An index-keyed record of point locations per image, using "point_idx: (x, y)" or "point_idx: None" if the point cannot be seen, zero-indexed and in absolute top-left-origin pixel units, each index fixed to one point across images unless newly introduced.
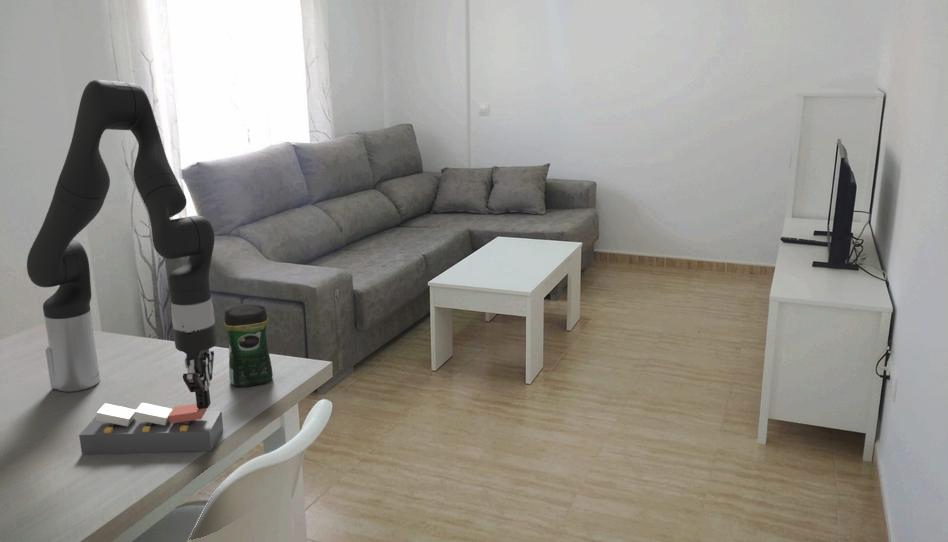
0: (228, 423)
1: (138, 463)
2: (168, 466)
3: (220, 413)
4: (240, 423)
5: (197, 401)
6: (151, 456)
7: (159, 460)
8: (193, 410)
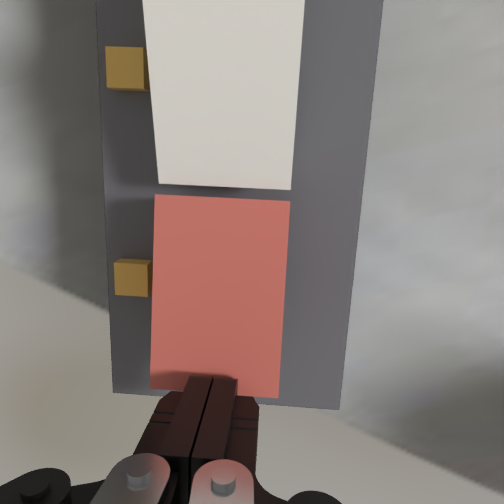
0: (375, 371)
1: (48, 81)
2: (29, 214)
3: (318, 404)
4: (367, 415)
5: (152, 417)
6: None
7: (74, 165)
8: (182, 347)
